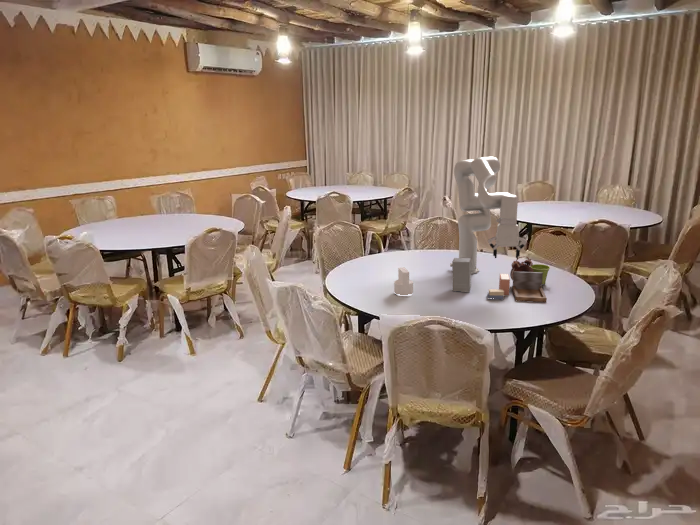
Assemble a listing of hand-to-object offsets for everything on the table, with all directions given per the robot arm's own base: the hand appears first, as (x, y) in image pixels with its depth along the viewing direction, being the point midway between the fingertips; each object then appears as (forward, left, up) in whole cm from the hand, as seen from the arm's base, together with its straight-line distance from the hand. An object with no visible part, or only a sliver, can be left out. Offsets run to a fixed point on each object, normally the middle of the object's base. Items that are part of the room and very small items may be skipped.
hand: (506, 257), depth 237 cm
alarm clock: (+9, +12, -17) cm, 23 cm away
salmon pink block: (0, 0, -17) cm, 17 cm away
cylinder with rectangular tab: (-47, -9, -18) cm, 51 cm away
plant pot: (+18, +17, -18) cm, 30 cm away
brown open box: (+11, -3, -17) cm, 21 cm away
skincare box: (-20, 0, -18) cm, 27 cm away
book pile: (-5, -9, -17) cm, 20 cm away
